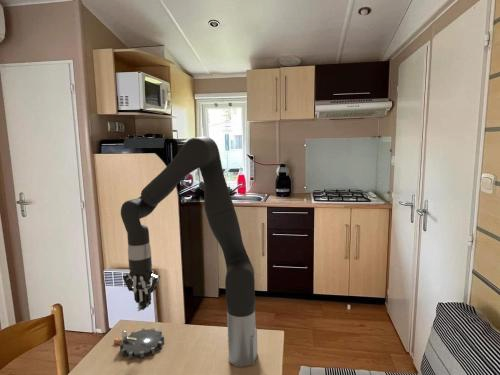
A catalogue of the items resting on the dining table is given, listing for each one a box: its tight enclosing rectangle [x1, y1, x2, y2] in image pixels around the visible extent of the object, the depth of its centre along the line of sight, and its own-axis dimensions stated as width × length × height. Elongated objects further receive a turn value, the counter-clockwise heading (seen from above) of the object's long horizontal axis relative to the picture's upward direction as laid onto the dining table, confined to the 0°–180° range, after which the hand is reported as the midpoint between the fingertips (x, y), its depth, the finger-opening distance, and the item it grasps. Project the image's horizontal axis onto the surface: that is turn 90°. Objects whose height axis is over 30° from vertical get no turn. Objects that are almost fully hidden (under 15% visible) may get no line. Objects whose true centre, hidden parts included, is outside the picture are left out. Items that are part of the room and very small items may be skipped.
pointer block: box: [113, 337, 123, 346], centre depth 114 cm, size 3×2×2 cm, turn 77°
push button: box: [136, 282, 152, 312], centre depth 110 cm, size 7×5×10 cm
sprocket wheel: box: [119, 327, 165, 360], centre depth 112 cm, size 15×15×6 cm
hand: (143, 302), depth 110 cm, fingers closed on push button, 3 cm apart
